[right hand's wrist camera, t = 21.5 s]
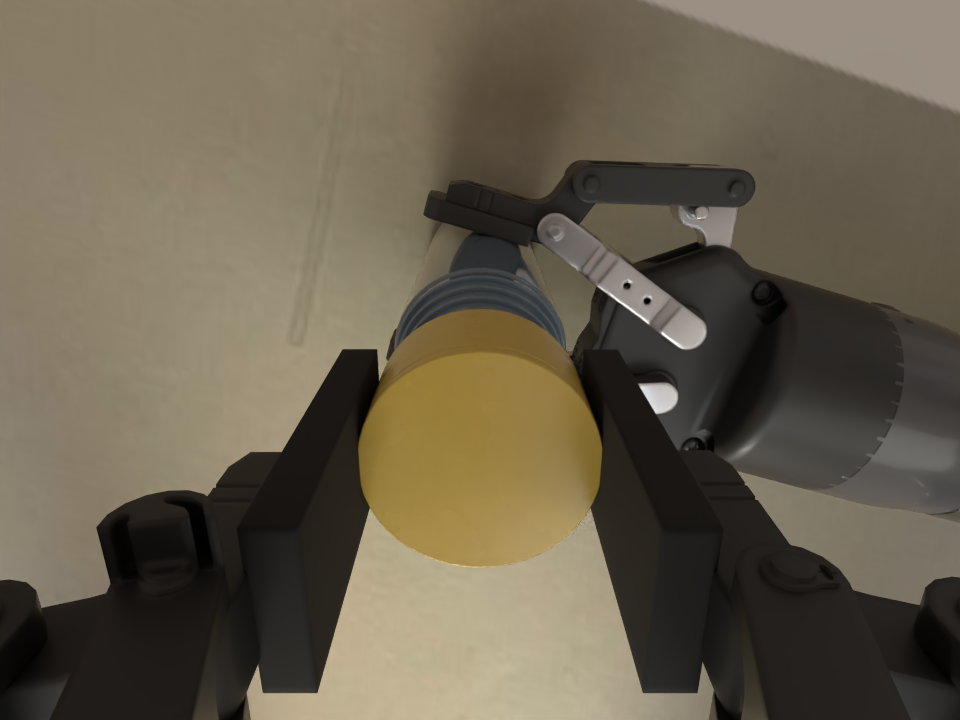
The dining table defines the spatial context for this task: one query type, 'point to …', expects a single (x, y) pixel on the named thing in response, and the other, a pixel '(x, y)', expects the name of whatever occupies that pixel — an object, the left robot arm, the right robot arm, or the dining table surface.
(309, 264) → the dining table surface
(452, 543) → the cap
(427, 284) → the bottle
